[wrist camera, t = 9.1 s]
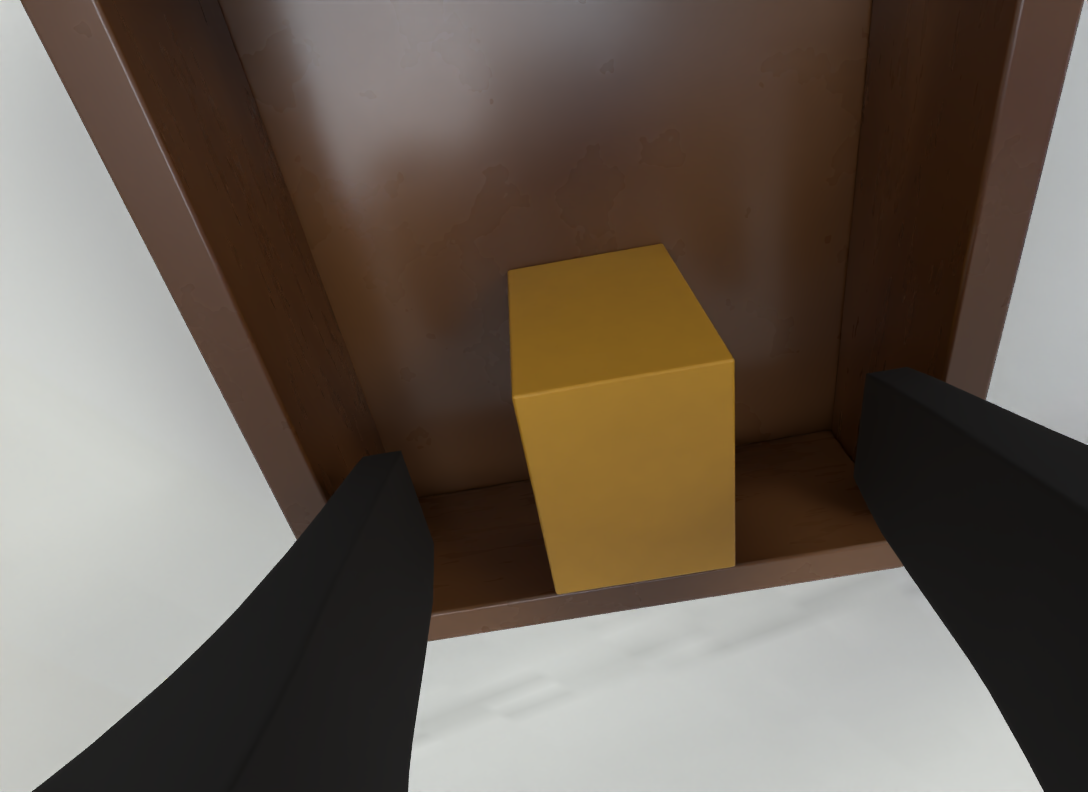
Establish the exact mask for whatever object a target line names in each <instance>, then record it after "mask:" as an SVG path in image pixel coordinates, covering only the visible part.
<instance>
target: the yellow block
mask: <svg viewBox="0 0 1088 792" xmlns="http://www.w3.org/2000/svg"><path fill="white" fill-rule="evenodd" d="M507 278H508V306H509V335H510V363H511V391H512V401H513V406H514V410H515V415H516V419H517V424H518V428H519V432H520V437H521V441H522V446H523V450H524V455H525V459H526V463H527V468H528V472H529V477H530V481H531V485H532V490H533V494H534V499H535V503H536V508H537V512H538V516H539V521H540V525H541V530H542V534H543V539H544V543H545V547H546V552H547V556H548V561H549V565H550V569H551V574H552V578H553V583H554V587H555V592H556V593H557V594H565V593H571V592H578V591H584V590H590V589H596V588H603V587H609V586H615V585H622V584H628V583H634V582H641V581H647V580H653V579H660V578H666V577H672V576H678V575H685V574H691V573H697V572H704V571H710V570H716V569H723V568H729V567H734V566H735V360H734V358H733V357H732V355H731V353H730V352H729V350H728V349H727V347H726V345H725V344H724V342H723V340H722V339H721V337H720V336H719V334H718V332H717V331H716V329H715V328H714V326H713V324H712V323H711V321H710V319H709V318H708V316H707V315H706V313H705V311H704V310H703V308H702V306H701V305H700V303H699V302H698V300H697V298H696V297H695V295H694V294H693V292H692V290H691V289H690V287H689V285H688V284H687V282H686V281H685V279H684V277H683V276H682V274H681V272H680V271H679V269H678V268H677V266H676V264H675V263H674V261H673V260H672V258H671V256H670V255H669V253H668V251H667V250H666V248H665V247H664V245H663V244H661V243H660V244H655V245H649V246H643V247H638V248H632V249H627V250H621V251H615V252H610V253H604V254H598V255H593V256H587V257H581V258H576V259H570V260H564V261H559V262H553V263H547V264H542V265H536V266H531V267H525V268H519V269H514V270H509V271H508V272H507Z"/></svg>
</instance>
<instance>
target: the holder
mask: <svg viewBox="0 0 1088 792" xmlns="http://www.w3.org/2000/svg"><path fill="white" fill-rule="evenodd" d="M20 1H21V3H22V5H23V7H24V9H25V11H26V13H27V15H28V16H29V18H30V20H31V22H32V24H33V26H34V28H35V30H36V32H37V34H38V36H39V38H40V40H41V42H42V44H43V46H44V48H45V50H46V52H47V54H48V55H49V57H50V59H51V61H52V63H53V65H54V67H55V69H56V71H57V73H58V75H59V77H60V79H61V81H62V83H63V85H64V87H65V89H66V91H67V93H68V94H69V96H70V98H71V100H72V102H73V104H74V106H75V108H76V110H77V112H78V114H79V116H80V118H81V120H82V122H83V124H84V126H85V128H86V130H87V132H88V133H89V135H90V137H91V139H92V141H93V143H94V145H95V147H96V149H97V151H98V153H99V155H100V157H101V159H102V161H103V163H104V165H105V167H106V169H107V171H108V173H109V174H110V176H111V178H112V180H113V182H114V184H115V186H116V188H117V190H118V192H119V194H120V196H121V198H122V200H123V202H124V204H125V206H126V208H127V210H128V212H129V213H130V215H131V217H132V219H133V221H134V223H135V225H136V227H137V229H138V231H139V233H140V235H141V237H142V239H143V241H144V243H145V245H146V247H147V249H148V251H149V252H150V254H151V256H152V258H153V260H154V262H155V264H156V266H157V268H158V270H159V272H160V274H161V276H162V278H163V280H164V282H165V284H166V286H167V288H168V290H169V292H170V293H171V295H172V297H173V299H174V301H175V303H176V305H177V307H178V309H179V311H180V313H181V315H182V317H183V319H184V321H185V323H186V325H187V327H188V329H189V331H190V332H191V334H192V336H193V338H194V340H195V342H196V344H197V346H198V348H199V350H200V352H201V354H202V356H203V358H204V360H205V362H206V364H207V366H208V368H209V370H210V371H211V373H212V375H213V377H214V379H215V381H216V383H217V385H218V387H219V389H220V391H221V393H222V395H223V397H224V399H225V401H226V403H227V405H228V407H229V409H230V411H231V412H232V414H233V416H234V418H235V420H236V422H237V424H238V426H239V428H240V430H241V432H242V434H243V436H244V438H245V440H246V442H247V444H248V446H249V448H250V450H251V451H252V453H253V455H254V457H255V459H256V461H257V463H258V465H259V467H260V469H261V471H262V473H263V475H264V477H265V479H266V481H267V483H268V485H269V487H270V489H271V490H272V492H273V494H274V496H275V498H276V500H277V502H278V504H279V506H280V508H281V510H282V512H283V514H284V516H285V518H286V520H287V522H288V524H289V526H290V528H291V530H292V531H293V533H294V535H295V537H296V539H297V540H298V538H299V537H300V536H301V535H302V533H303V532H304V531H305V530H306V528H307V527H308V526H309V525H310V523H311V522H312V521H313V520H314V518H315V517H316V516H317V515H318V513H319V512H320V511H321V509H322V508H323V507H324V506H325V504H326V503H327V502H328V500H329V499H330V498H331V497H332V495H333V494H334V493H335V491H336V490H337V489H338V487H339V486H340V485H341V484H342V482H343V481H344V480H345V478H346V477H347V476H348V475H349V473H350V472H351V471H352V469H353V468H354V467H355V466H356V464H357V463H358V462H359V461H360V460H361V458H362V457H364V456H370V455H376V454H382V453H388V452H394V451H401V452H402V455H403V458H404V461H405V463H406V466H407V469H408V472H409V475H410V477H411V480H412V483H413V486H414V489H415V492H416V494H417V497H418V500H419V503H420V506H421V508H422V511H423V514H424V517H425V520H426V523H427V525H428V528H429V531H430V534H431V537H432V539H433V542H434V583H433V605H432V613H431V620H430V627H429V634H428V641H434V640H440V639H447V638H453V637H460V636H466V635H472V634H479V633H485V632H491V631H498V630H504V629H510V628H517V627H523V626H530V625H536V624H542V623H549V622H555V621H561V620H568V619H574V618H580V617H587V616H593V615H600V614H606V613H612V612H619V611H625V610H631V609H638V608H644V607H650V606H657V605H663V604H670V603H676V602H682V601H689V600H695V599H701V598H708V597H714V596H721V595H727V594H733V593H740V592H746V591H752V590H759V589H765V588H771V587H778V586H784V585H791V584H797V583H803V582H810V581H816V580H822V579H829V578H835V577H841V576H848V575H854V574H861V573H867V572H873V571H880V570H886V569H892V568H899V567H902V566H903V564H902V563H901V561H900V560H899V558H898V557H897V555H896V554H895V552H894V551H893V550H892V548H891V547H890V545H889V544H888V542H887V541H886V539H885V538H884V536H883V535H882V533H881V531H880V529H879V527H878V526H877V524H876V522H875V520H874V518H873V516H872V514H871V512H870V510H869V508H868V506H867V504H866V502H865V500H864V498H863V496H862V494H861V492H860V490H859V488H858V486H857V484H856V482H855V479H854V477H853V475H854V467H855V459H856V451H857V443H858V435H859V427H860V418H861V410H862V402H863V394H864V386H865V378H866V373H872V372H879V371H885V370H891V369H897V368H903V367H909V368H911V369H914V370H917V371H919V372H922V373H925V374H927V375H929V376H932V377H934V378H937V379H939V380H941V381H944V382H946V383H948V384H950V385H953V386H955V387H957V388H959V389H962V390H964V391H966V392H968V393H970V394H973V395H975V396H977V397H979V398H981V399H984V400H986V397H987V393H988V389H989V385H990V381H991V377H992V373H993V369H994V365H995V360H996V356H997V352H998V348H999V344H1000V340H1001V336H1002V332H1003V328H1004V324H1005V320H1006V316H1007V312H1008V308H1009V304H1010V299H1011V295H1012V291H1013V287H1014V283H1015V279H1016V275H1017V271H1018V267H1019V263H1020V259H1021V255H1022V251H1023V247H1024V243H1025V238H1026V234H1027V230H1028V226H1029V222H1030V218H1031V214H1032V210H1033V206H1034V202H1035V198H1036V194H1037V190H1038V186H1039V182H1040V177H1041V173H1042V169H1043V165H1044V161H1045V157H1046V153H1047V149H1048V145H1049V141H1050V137H1051V133H1052V129H1053V125H1054V121H1055V116H1056V112H1057V108H1058V104H1059V100H1060V96H1061V92H1062V88H1063V84H1064V80H1065V76H1066V72H1067V68H1068V64H1069V60H1070V55H1071V51H1072V47H1073V43H1074V39H1075V35H1076V31H1077V27H1078V23H1079V19H1080V15H1081V11H1082V7H1083V3H1084V0H20ZM660 243H661V244H663V245H664V247H665V248H666V250H667V251H668V253H669V255H670V256H671V258H672V260H673V261H674V263H675V264H676V266H677V268H678V269H679V271H680V272H681V274H682V276H683V277H684V279H685V281H686V282H687V284H688V285H689V287H690V289H691V290H692V292H693V294H694V295H695V297H696V298H697V300H698V302H699V303H700V305H701V306H702V308H703V310H704V311H705V313H706V315H707V316H708V318H709V319H710V321H711V323H712V324H713V326H714V328H715V329H716V331H717V332H718V334H719V336H720V337H721V339H722V340H723V342H724V344H725V345H726V347H727V349H728V350H729V352H730V353H731V355H732V357H733V358H734V360H735V566H734V567H729V568H723V569H716V570H710V571H704V572H697V573H691V574H685V575H678V576H672V577H666V578H660V579H653V580H647V581H641V582H634V583H628V584H622V585H615V586H609V587H603V588H596V589H590V590H584V591H578V592H571V593H565V594H557V593H556V592H555V587H554V583H553V578H552V574H551V569H550V565H549V561H548V556H547V552H546V547H545V543H544V539H543V534H542V530H541V525H540V521H539V516H538V512H537V508H536V503H535V499H534V494H533V490H532V485H531V481H530V477H529V472H528V468H527V463H526V459H525V455H524V450H523V446H522V441H521V437H520V432H519V428H518V424H517V419H516V415H515V410H514V406H513V401H512V391H511V363H510V335H509V306H508V278H507V272H508V271H509V270H514V269H519V268H525V267H531V266H536V265H542V264H547V263H553V262H559V261H564V260H570V259H576V258H581V257H587V256H593V255H598V254H604V253H610V252H615V251H621V250H627V249H632V248H638V247H643V246H649V245H655V244H660ZM428 641H427V642H428Z"/></svg>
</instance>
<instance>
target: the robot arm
mask: <svg viewBox="0 0 1088 792" xmlns="http://www.w3.org/2000/svg"><path fill="white" fill-rule="evenodd" d="M853 477H854V479H855V482H856V484H857V486H858V488H859V490H860V492H861V494H862V496H863V498H864V500H865V502H866V504H867V506H868V508H869V510H870V512H871V514H872V516H873V518H874V520H875V522H876V524H877V526H878V527H879V529H880V531H881V533H882V535H883V536H884V538H885V539H886V541H887V542H888V544H889V545H890V547H891V548H892V550H893V551H894V552H895V554H896V555H897V557H898V558H899V560H900V561H901V563H902V564H903V566H904V567H905V569H906V570H907V571H908V573H909V574H910V576H911V577H912V579H913V580H914V582H915V583H916V584H917V586H918V587H919V589H920V590H921V592H922V593H923V595H924V596H925V597H926V599H927V600H928V602H929V603H930V605H931V606H932V607H933V609H934V610H935V612H936V613H937V615H938V616H939V617H940V619H941V620H942V622H943V623H944V625H945V626H946V628H947V629H948V630H949V632H950V633H951V635H952V636H953V638H954V639H955V640H956V642H957V643H958V645H959V646H960V648H961V649H962V650H963V652H964V653H965V655H966V656H967V658H968V659H969V661H970V662H971V664H972V665H973V667H974V668H975V670H976V672H977V673H978V675H979V676H980V678H981V679H982V681H983V683H984V684H985V686H986V687H987V689H988V690H989V692H990V694H991V696H992V698H993V699H994V701H995V703H996V705H997V706H998V708H999V710H1000V712H1001V714H1002V715H1003V717H1004V719H1005V721H1006V723H1007V724H1008V726H1009V728H1010V730H1011V732H1012V733H1013V735H1014V737H1015V739H1016V740H1017V742H1018V744H1019V746H1020V748H1021V749H1022V751H1023V753H1024V755H1025V757H1026V758H1027V760H1028V762H1029V764H1030V766H1031V768H1032V770H1033V772H1034V774H1035V775H1036V777H1037V779H1038V781H1039V783H1040V785H1041V787H1042V789H1043V791H1044V792H1088V445H1086V444H1084V443H1081V442H1079V441H1076V440H1074V439H1072V438H1069V437H1067V436H1065V435H1062V434H1060V433H1058V432H1055V431H1053V430H1051V429H1048V428H1046V427H1044V426H1042V425H1039V424H1037V423H1035V422H1032V421H1030V420H1028V419H1026V418H1023V417H1021V416H1019V415H1017V414H1015V413H1012V412H1010V411H1008V410H1006V409H1003V408H1001V407H999V406H997V405H995V404H992V403H990V402H988V401H986V400H984V399H981V398H979V397H977V396H975V395H973V394H970V393H968V392H966V391H964V390H962V389H959V388H957V387H955V386H953V385H950V384H948V383H946V382H944V381H941V380H939V379H937V378H934V377H932V376H929V375H927V374H925V373H922V372H919V371H917V370H914V369H911V368H909V367H903V368H897V369H891V370H885V371H879V372H872V373H866V378H865V386H864V394H863V402H862V410H861V418H860V427H859V435H858V443H857V451H856V459H855V467H854V475H853ZM433 583H434V542H433V539H432V537H431V534H430V531H429V528H428V525H427V523H426V520H425V517H424V514H423V511H422V508H421V506H420V503H419V500H418V497H417V494H416V492H415V489H414V486H413V483H412V480H411V477H410V475H409V472H408V469H407V466H406V463H405V461H404V458H403V455H402V452H401V451H394V452H388V453H382V454H376V455H370V456H364V457H362V458H361V460H360V461H359V462H358V463H357V464H356V466H355V467H354V468H353V469H352V471H351V472H350V473H349V475H348V476H347V477H346V478H345V480H344V481H343V482H342V484H341V485H340V486H339V487H338V489H337V490H336V491H335V493H334V494H333V495H332V497H331V498H330V499H329V500H328V502H327V503H326V504H325V506H324V507H323V508H322V509H321V511H320V512H319V513H318V515H317V516H316V517H315V518H314V520H313V521H312V522H311V523H310V525H309V526H308V527H307V528H306V530H305V531H304V532H303V533H302V535H301V536H300V537H299V538H298V540H297V541H296V542H295V543H294V545H293V546H292V547H291V548H290V549H289V551H288V552H287V553H286V554H285V555H284V557H283V558H282V559H281V560H280V561H279V562H278V563H277V565H276V566H275V567H274V568H273V569H272V570H271V571H270V573H269V574H268V575H267V576H266V577H265V578H264V579H263V580H262V582H261V583H260V584H259V585H258V586H257V587H256V588H255V590H254V591H253V592H252V593H251V594H250V595H249V596H248V598H247V599H246V600H245V601H244V602H243V603H242V604H241V606H240V607H239V608H238V609H237V610H236V611H235V612H234V613H233V614H232V615H231V616H230V617H229V618H228V619H227V620H226V621H225V623H224V624H223V625H222V626H221V627H220V628H219V629H218V630H217V631H216V632H215V633H214V634H213V635H212V636H211V637H210V638H209V639H208V640H207V641H206V642H205V643H204V644H203V645H202V646H201V647H200V648H199V649H198V650H196V651H195V652H194V653H193V654H192V655H191V656H190V657H189V658H188V659H187V660H186V661H185V662H184V663H183V664H182V665H181V666H180V667H179V668H178V669H177V670H176V671H175V672H174V673H173V674H172V675H170V676H169V677H168V678H167V679H166V680H165V681H164V682H163V683H162V684H161V685H159V686H158V687H157V688H156V689H155V690H154V691H153V692H151V693H150V694H149V695H148V696H147V697H146V698H144V699H143V700H142V701H141V702H140V703H139V704H138V705H136V706H135V707H134V708H133V709H132V710H131V711H129V712H128V713H127V714H126V715H125V716H124V717H123V718H121V719H120V720H119V721H118V722H117V723H116V724H114V725H113V726H112V727H111V728H110V729H109V730H108V731H106V732H105V733H104V734H103V735H102V736H101V737H99V738H98V739H97V740H96V741H95V742H94V743H92V744H91V745H90V746H89V747H88V748H86V749H85V750H84V751H83V752H81V753H80V754H79V755H78V756H76V757H75V758H74V759H73V760H71V761H70V762H69V763H68V764H66V765H65V766H64V767H63V768H61V769H60V770H59V771H58V772H56V773H55V774H54V775H53V776H51V777H50V778H49V779H47V780H46V781H45V782H44V783H42V784H41V785H40V786H39V787H37V788H36V789H35V790H33V791H32V792H408V782H409V769H410V760H411V750H412V741H413V735H414V728H415V721H416V715H417V708H418V701H419V695H420V688H421V681H422V675H423V668H424V661H425V655H426V648H427V641H428V634H429V627H430V620H431V613H432V605H433Z"/></svg>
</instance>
